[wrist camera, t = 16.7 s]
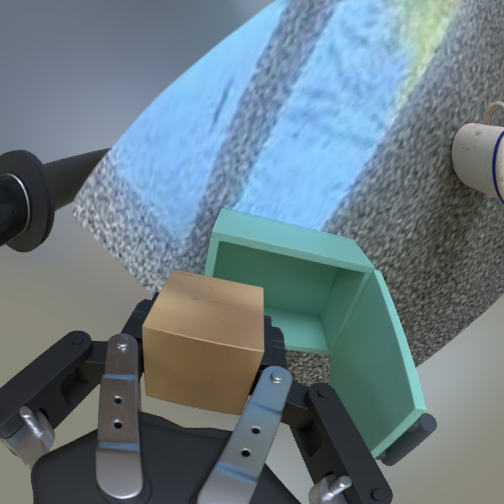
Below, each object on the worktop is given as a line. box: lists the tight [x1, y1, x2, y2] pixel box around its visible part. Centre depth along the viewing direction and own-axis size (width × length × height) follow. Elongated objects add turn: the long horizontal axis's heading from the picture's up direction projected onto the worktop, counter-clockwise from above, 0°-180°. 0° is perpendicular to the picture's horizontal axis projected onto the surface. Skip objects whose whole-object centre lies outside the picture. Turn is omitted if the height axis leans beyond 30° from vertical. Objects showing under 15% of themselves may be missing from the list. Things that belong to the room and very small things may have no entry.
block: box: [142, 269, 264, 415], centre depth 13 cm, size 4×4×4 cm
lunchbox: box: [204, 208, 375, 355], centre depth 31 cm, size 16×12×7 cm
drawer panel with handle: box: [330, 270, 437, 466], centre depth 20 cm, size 16×12×5 cm
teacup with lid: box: [452, 102, 504, 203], centre depth 21 cm, size 12×9×12 cm
